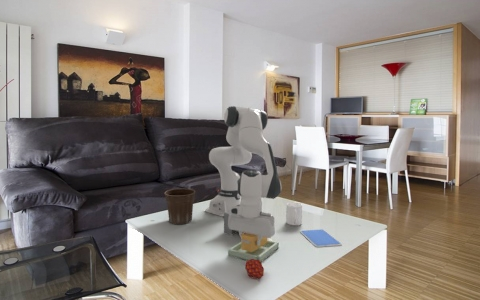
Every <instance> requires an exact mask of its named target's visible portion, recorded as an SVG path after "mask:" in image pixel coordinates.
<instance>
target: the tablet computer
mask: <svg viewBox="0 0 480 300" xmlns="http://www.w3.org/2000/svg"><path fill="white" fill-rule="evenodd" d="M299 233H300V234H301V235H302V236H303V237H305V238H306V239H307V240H308V241H309V242H310V243H311V244H312V246H314V247H315V248H327V247H341V246H343V244H342V243H341V242H339V240H337V239H336V238H335V237H333V236H332V235H331V234H330V233H328V232H327V230H324V229H312V230H311V229H310V230H300V231H299Z"/></svg>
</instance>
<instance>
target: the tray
mask: <svg viewBox="0 0 480 300" xmlns="http://www.w3.org/2000/svg"><path fill="white" fill-rule="evenodd" d="M241 247H242V242H241V241H240V242H238V243H237V244H234V246H232V247H230V248H229V249H228V250H227V256H228V257H231V258H236V259H239V260H242V261H246V260H247V261H248V260H250V259H255V260H260V261H262V262H263V261H264V260H265V258H266V257H267V258H268V257H269V256H271V255H272V254H273V253H274V252H276V250H278V249H279V248H280V247H279V242H278V241H275V240H274V241H273V240H269V239H267V243H266V244H265V245H263V246H261V247H260V248H258V249H257V250H255V251H253V252H249V251H245V250H242V249H241ZM267 258H266V259H267Z"/></svg>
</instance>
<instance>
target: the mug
mask: <svg viewBox="0 0 480 300" xmlns="http://www.w3.org/2000/svg"><path fill="white" fill-rule="evenodd" d="M285 204H286V205H285V206H286V208H285V209H286V211H285V212H286V214H285V222H286V224H287V225H289V226H297V227H298V226H301V225H302V224H303V204H302V203H299V202H295V201H293V202H287V203H285Z"/></svg>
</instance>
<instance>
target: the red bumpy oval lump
mask: <svg viewBox="0 0 480 300" xmlns="http://www.w3.org/2000/svg"><path fill="white" fill-rule="evenodd" d="M244 268H245V271H246V273H247V276H248V277H250V278H252V277H253V278H252V279H257V278H258V279H259V278H262V277H263V276H264V272H265V271H264V270H265V269H264V265H263V263H262V262H261V261H260V260H255V259H250V260H248V261H246V260H245V267H244Z"/></svg>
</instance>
